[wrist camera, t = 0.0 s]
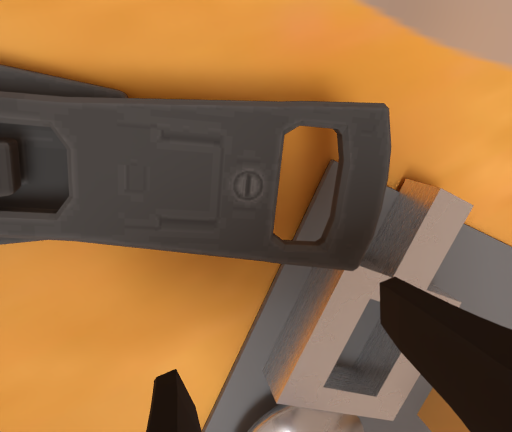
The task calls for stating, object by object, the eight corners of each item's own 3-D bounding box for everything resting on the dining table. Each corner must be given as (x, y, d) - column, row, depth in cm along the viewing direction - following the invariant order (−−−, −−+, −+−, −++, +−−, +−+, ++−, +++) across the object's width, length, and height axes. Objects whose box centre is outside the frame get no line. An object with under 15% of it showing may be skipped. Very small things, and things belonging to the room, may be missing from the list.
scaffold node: (315, 486, 30) (345, 555, 25) (207, 481, 26) (219, 561, 22) (469, 210, 26) (538, 233, 21) (366, 157, 22) (423, 172, 17)
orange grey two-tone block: (439, 418, 32) (512, 497, 26) (416, 414, 31) (486, 496, 25) (468, 372, 31) (550, 441, 25) (444, 366, 30) (524, 437, 24)
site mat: (416, 479, 35) (419, 483, 34) (186, 464, 26) (186, 469, 25) (548, 265, 31) (553, 267, 30) (331, 159, 22) (334, 160, 21)
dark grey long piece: (370, 284, 17) (-407, 327, 10) (312, 237, 23) (-193, 241, 16) (410, 90, 15) (-589, -51, 7) (333, 94, 21) (-254, 20, 13)
